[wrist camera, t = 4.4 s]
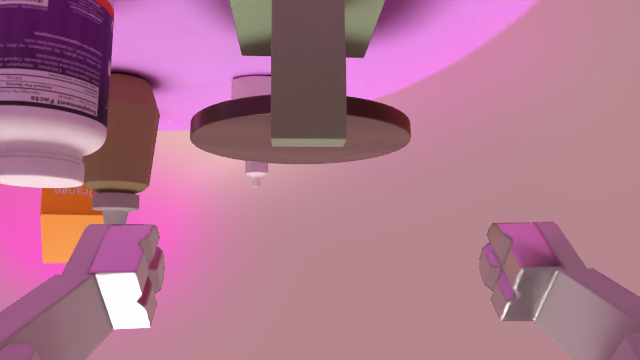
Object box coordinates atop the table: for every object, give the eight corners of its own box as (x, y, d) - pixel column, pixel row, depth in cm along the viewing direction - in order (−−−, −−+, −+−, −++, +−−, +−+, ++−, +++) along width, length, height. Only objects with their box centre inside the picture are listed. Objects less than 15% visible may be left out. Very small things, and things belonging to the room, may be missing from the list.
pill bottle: (77, 20, 40) (65, 193, 38) (-35, -25, 33) (-59, 181, 31) (138, -10, 36) (128, 184, 33) (22, -69, 29) (-1, 167, 27)
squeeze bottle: (65, 69, 50) (52, 243, 48) (139, 65, 49) (130, 242, 47) (109, 94, 58) (100, 245, 56) (172, 91, 57) (166, 244, 55)
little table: (172, -68, 29) (164, 111, 28) (432, -59, 30) (440, 114, 29) (212, 45, 45) (209, 163, 43) (382, 49, 46) (386, 164, 44)
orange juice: (128, 118, 68) (120, 261, 65) (58, 112, 65) (46, 262, 62) (127, 102, 61) (118, 262, 58) (48, 94, 58) (35, 263, 55)
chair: (228, -130, 25) (222, 138, 22) (384, -124, 25) (393, 139, 23) (243, -36, 32) (240, 169, 30) (361, -33, 33) (366, 169, 31)
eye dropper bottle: (274, 90, 57) (274, 190, 55) (228, 83, 55) (225, 188, 53) (288, 77, 53) (288, 185, 51) (238, 69, 51) (236, 182, 49)
